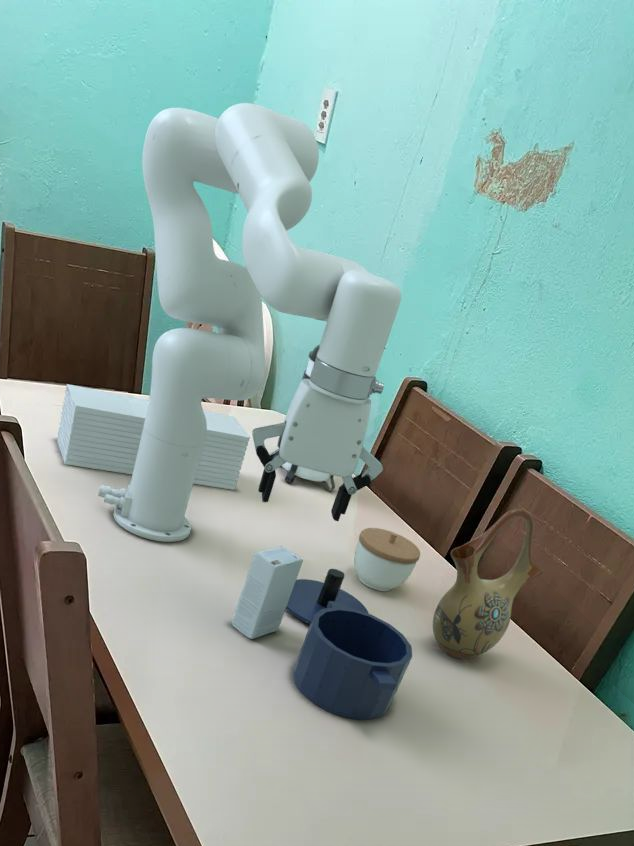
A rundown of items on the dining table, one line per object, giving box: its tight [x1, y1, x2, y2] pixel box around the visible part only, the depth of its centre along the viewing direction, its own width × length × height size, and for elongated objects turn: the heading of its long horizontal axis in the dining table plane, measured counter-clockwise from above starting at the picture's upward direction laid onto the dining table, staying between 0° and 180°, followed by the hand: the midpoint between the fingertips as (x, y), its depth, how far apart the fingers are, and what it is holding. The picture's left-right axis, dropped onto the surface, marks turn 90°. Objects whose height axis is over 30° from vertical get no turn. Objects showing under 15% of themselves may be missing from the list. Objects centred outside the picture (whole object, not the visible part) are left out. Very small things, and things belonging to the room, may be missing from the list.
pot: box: [292, 601, 413, 720], centre depth 115 cm, size 14×19×8 cm
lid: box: [285, 568, 370, 625], centre depth 133 cm, size 15×15×7 cm
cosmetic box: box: [231, 545, 304, 640], centre depth 120 cm, size 6×4×12 cm
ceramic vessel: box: [432, 508, 545, 660], centre depth 130 cm, size 16×9×25 cm, turn 107°
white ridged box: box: [56, 383, 251, 491], centre depth 160 cm, size 32×11×11 cm, turn 110°
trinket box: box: [353, 527, 421, 592], centre depth 147 cm, size 11×11×9 cm
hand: (299, 507), depth 114 cm, fingers open, 9 cm apart
